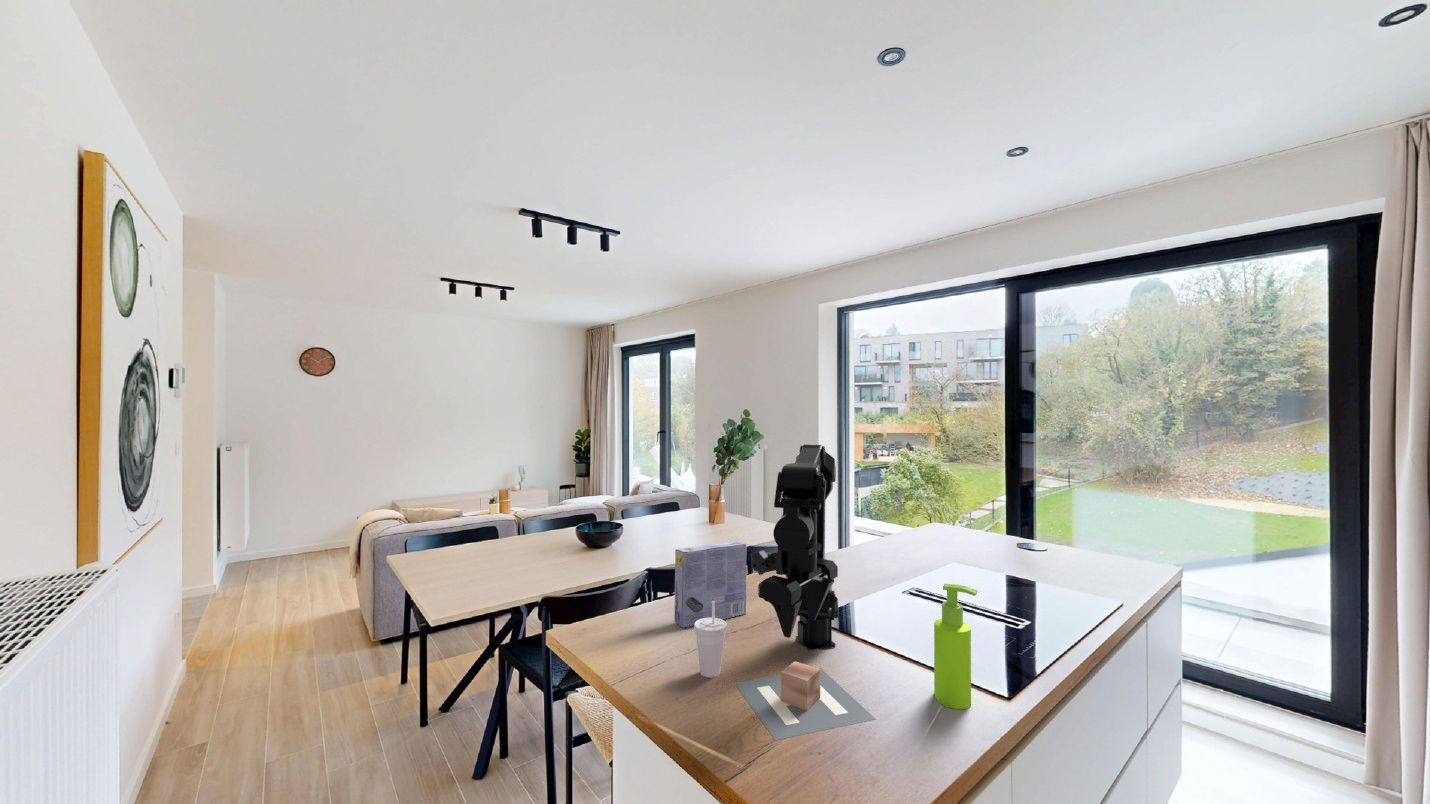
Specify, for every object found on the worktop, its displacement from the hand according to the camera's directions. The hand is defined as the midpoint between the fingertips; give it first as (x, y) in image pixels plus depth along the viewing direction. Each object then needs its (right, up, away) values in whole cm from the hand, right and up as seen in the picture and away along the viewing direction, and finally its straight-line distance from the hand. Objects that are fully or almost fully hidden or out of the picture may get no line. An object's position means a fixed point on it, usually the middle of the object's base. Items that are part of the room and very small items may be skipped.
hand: (800, 628), depth 93 cm
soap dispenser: (+27, -13, 0) cm, 30 cm away
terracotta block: (0, -12, 0) cm, 12 cm away
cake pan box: (-15, -14, +37) cm, 42 cm away
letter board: (0, -13, 0) cm, 13 cm away
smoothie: (-16, -13, +9) cm, 22 cm away
